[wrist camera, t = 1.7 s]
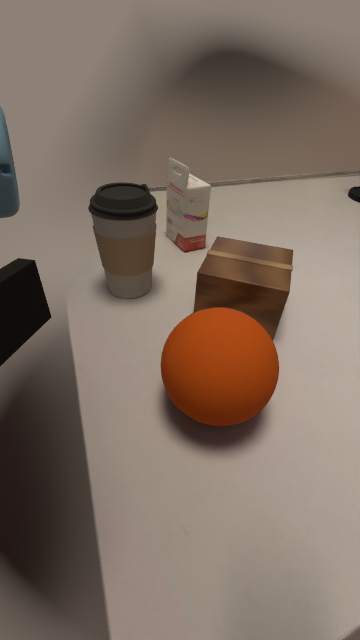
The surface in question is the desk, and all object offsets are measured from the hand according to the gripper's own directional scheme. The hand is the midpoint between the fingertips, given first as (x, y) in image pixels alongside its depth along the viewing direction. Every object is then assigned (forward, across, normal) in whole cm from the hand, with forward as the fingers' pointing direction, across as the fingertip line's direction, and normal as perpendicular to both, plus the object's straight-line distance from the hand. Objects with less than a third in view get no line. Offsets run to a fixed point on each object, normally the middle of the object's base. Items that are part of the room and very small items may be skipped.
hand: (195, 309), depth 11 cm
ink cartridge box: (+48, -11, -16) cm, 52 cm away
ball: (+12, 0, -14) cm, 18 cm away
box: (+29, +2, -18) cm, 34 cm away
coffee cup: (+30, -16, -17) cm, 38 cm away
